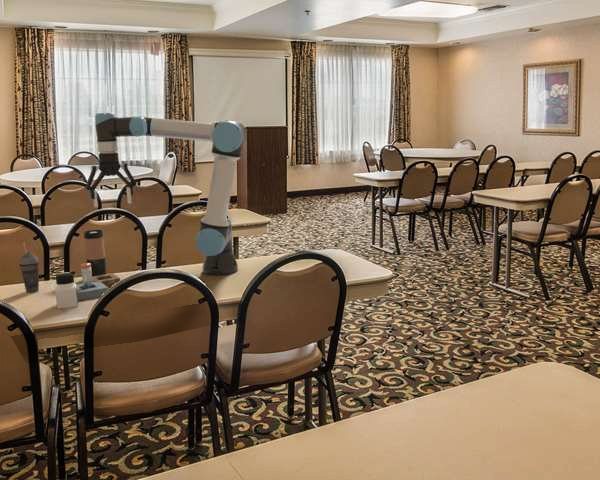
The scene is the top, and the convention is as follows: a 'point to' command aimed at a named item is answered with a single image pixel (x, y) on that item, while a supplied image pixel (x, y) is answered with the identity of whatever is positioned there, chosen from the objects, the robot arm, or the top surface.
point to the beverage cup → (30, 271)
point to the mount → (106, 279)
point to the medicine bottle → (66, 291)
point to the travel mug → (95, 251)
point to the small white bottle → (86, 275)
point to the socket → (91, 291)
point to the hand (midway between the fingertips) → (113, 205)
